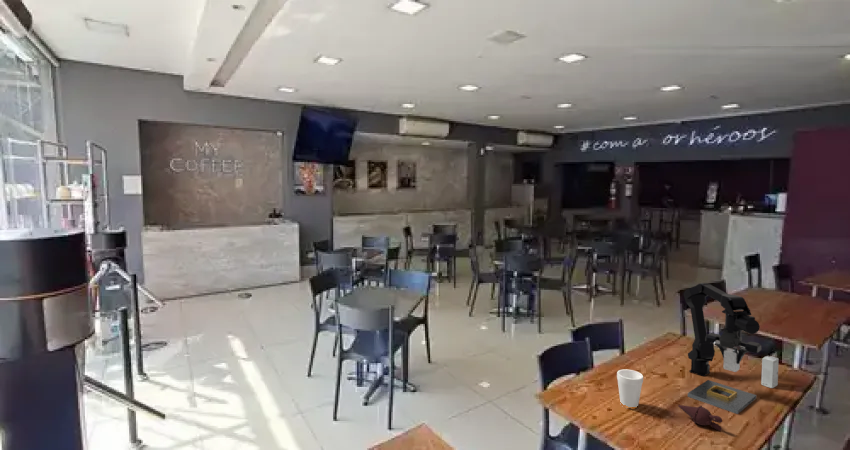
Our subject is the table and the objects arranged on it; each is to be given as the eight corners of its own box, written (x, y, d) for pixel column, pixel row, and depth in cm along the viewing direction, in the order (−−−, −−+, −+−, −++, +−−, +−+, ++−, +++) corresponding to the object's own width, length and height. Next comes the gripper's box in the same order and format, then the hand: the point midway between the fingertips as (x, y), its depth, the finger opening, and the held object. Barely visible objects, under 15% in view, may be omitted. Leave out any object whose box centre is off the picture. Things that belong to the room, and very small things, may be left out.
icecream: (673, 403, 166) (717, 423, 154) (683, 393, 170) (727, 412, 158) (673, 417, 168) (717, 439, 156) (682, 407, 172) (726, 427, 160)
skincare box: (772, 388, 189) (774, 361, 188) (760, 384, 193) (761, 358, 192) (778, 384, 193) (779, 358, 192) (765, 381, 196) (767, 355, 195)
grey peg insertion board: (687, 396, 184) (687, 390, 183) (707, 383, 195) (708, 377, 195) (737, 414, 169) (737, 407, 169) (756, 398, 181) (756, 392, 181)
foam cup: (631, 413, 171) (632, 381, 170) (611, 403, 179) (612, 372, 178) (647, 407, 175) (648, 376, 174) (627, 397, 183) (627, 367, 182)
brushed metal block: (723, 368, 186) (724, 347, 186) (727, 366, 189) (728, 344, 188) (735, 372, 183) (736, 350, 182) (739, 369, 186) (740, 347, 185)
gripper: (700, 324, 187) (699, 360, 188) (753, 336, 172) (751, 374, 173) (711, 319, 194) (709, 353, 195) (762, 330, 179) (760, 367, 180)
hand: (731, 362), depth 186 cm, fingers closed on brushed metal block, 4 cm apart
